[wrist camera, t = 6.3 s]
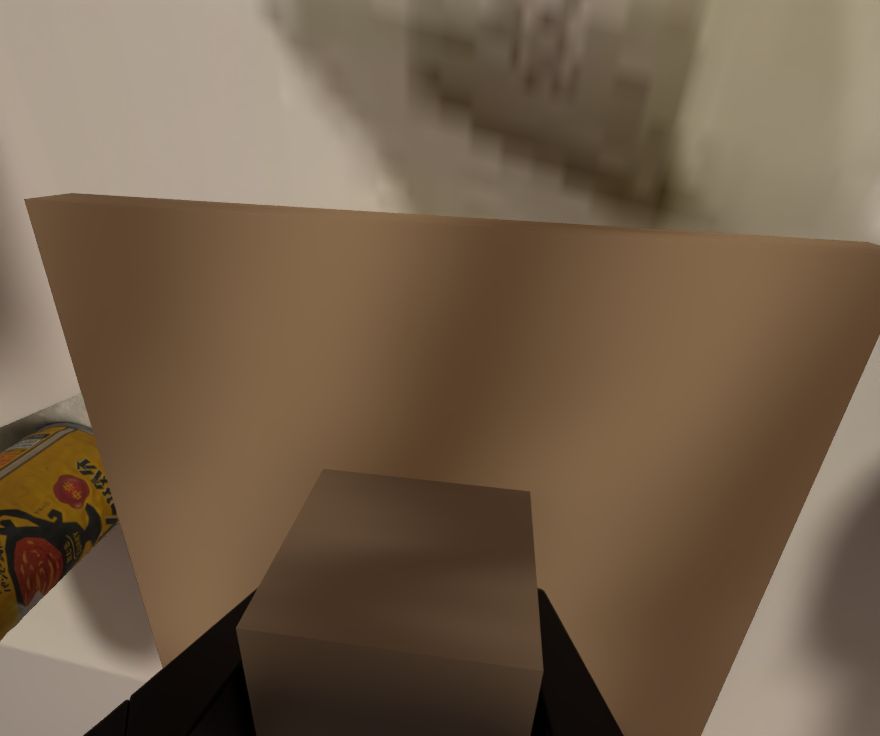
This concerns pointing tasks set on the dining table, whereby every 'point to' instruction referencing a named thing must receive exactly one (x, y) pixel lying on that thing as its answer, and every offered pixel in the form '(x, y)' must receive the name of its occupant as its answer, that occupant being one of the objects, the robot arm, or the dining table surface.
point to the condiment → (48, 503)
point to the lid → (453, 444)
